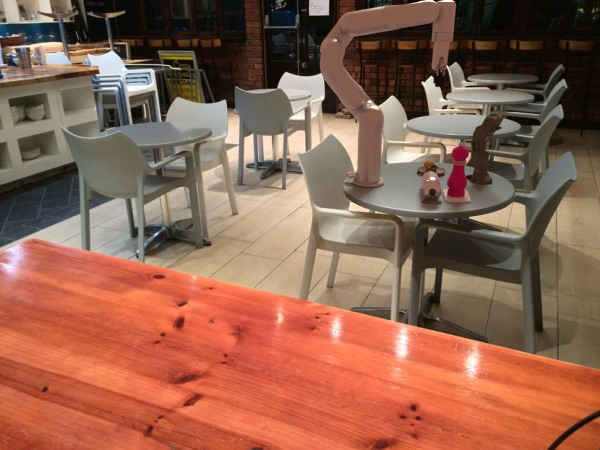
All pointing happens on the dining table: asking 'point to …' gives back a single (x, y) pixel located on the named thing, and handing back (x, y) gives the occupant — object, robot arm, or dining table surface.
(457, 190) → the pepper mill
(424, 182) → the motor housing
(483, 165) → the brown tall irregular piece
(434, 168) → the brown orange lobed cluster
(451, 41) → the robot arm
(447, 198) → the far mat
